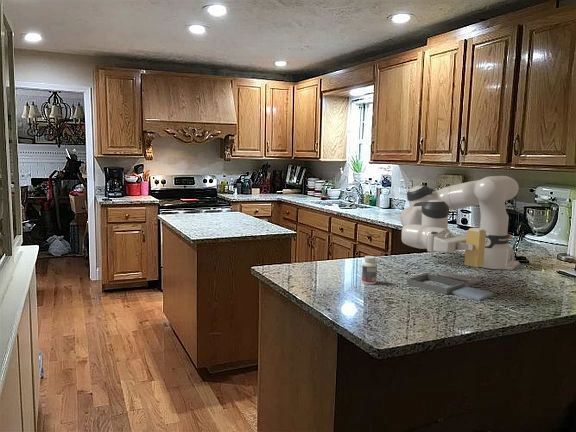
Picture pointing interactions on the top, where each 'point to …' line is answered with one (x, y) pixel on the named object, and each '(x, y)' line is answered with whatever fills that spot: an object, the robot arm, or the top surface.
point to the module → (477, 254)
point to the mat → (472, 293)
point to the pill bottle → (369, 270)
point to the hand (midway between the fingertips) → (477, 246)
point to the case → (443, 281)
